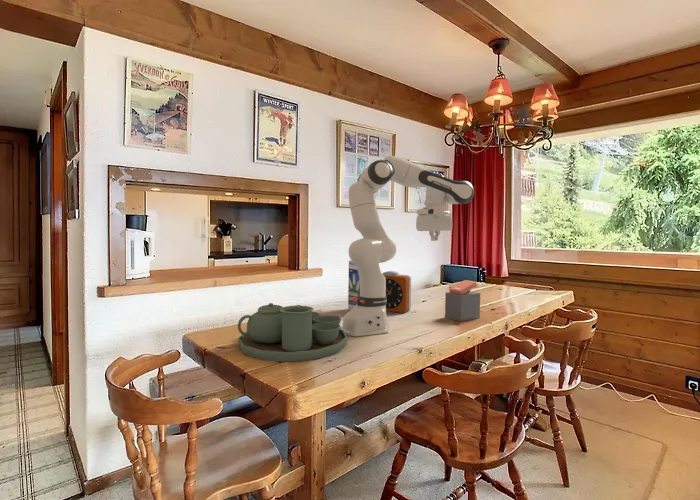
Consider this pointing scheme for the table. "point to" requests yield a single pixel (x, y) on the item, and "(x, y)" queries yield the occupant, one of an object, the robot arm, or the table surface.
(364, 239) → the robot arm
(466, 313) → the switch box
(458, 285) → the rocker
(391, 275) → the alarm clock
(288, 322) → the tea set
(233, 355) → the table surface
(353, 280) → the string lights box
